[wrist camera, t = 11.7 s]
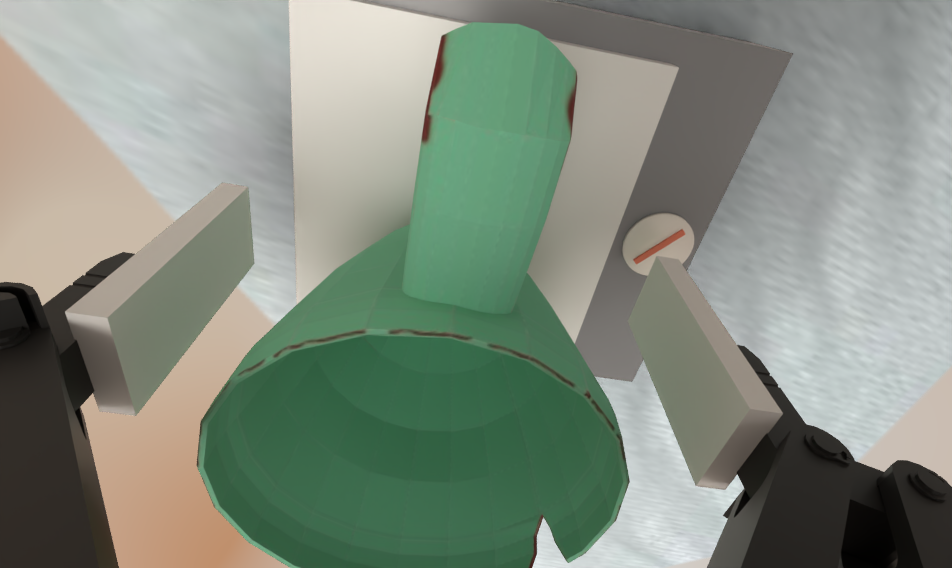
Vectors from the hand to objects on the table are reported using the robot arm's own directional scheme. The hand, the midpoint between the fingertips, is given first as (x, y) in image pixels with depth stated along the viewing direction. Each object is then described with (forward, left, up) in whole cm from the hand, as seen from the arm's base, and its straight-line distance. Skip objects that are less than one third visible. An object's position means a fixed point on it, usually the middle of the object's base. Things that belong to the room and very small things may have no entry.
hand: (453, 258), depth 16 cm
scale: (-2, 0, -7) cm, 7 cm away
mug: (0, 0, -3) cm, 3 cm away
